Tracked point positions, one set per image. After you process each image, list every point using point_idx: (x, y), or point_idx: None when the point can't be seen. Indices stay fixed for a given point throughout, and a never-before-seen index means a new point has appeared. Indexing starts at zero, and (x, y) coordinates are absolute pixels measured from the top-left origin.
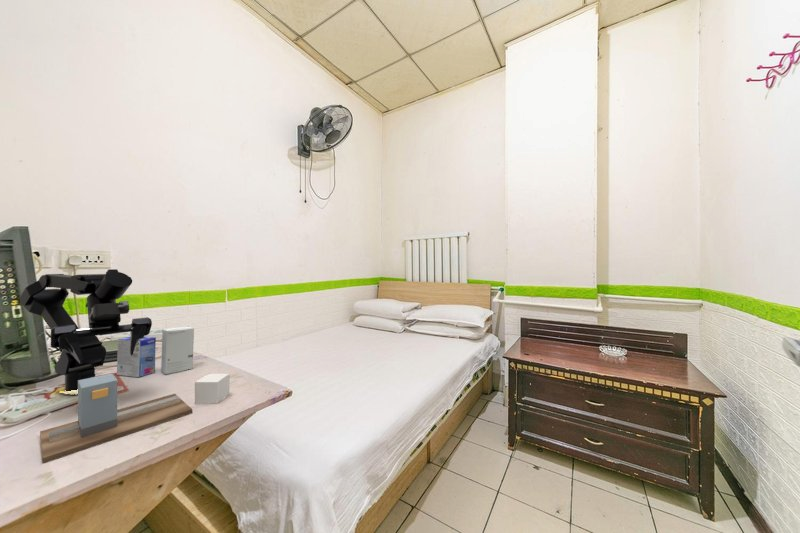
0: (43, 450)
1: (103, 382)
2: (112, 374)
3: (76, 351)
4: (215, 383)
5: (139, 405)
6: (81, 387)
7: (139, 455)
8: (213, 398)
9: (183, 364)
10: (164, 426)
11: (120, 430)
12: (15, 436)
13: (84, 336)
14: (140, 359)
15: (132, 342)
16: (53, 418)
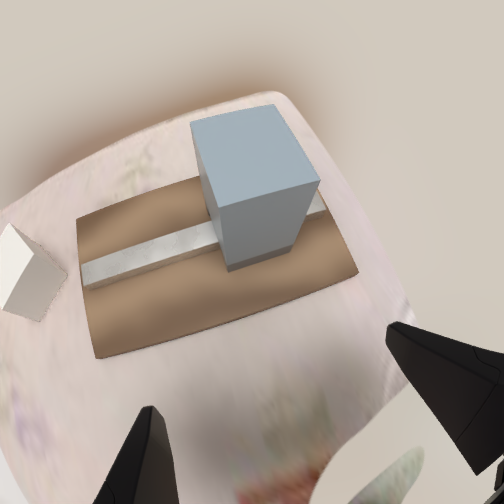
0: None
1: (226, 119)
2: (214, 189)
3: (455, 344)
4: (12, 226)
5: (173, 319)
6: (276, 109)
7: (169, 119)
8: (36, 244)
9: None
10: (129, 188)
11: (197, 185)
12: (398, 300)
13: (495, 492)
14: None
15: (131, 472)
16: (369, 374)
